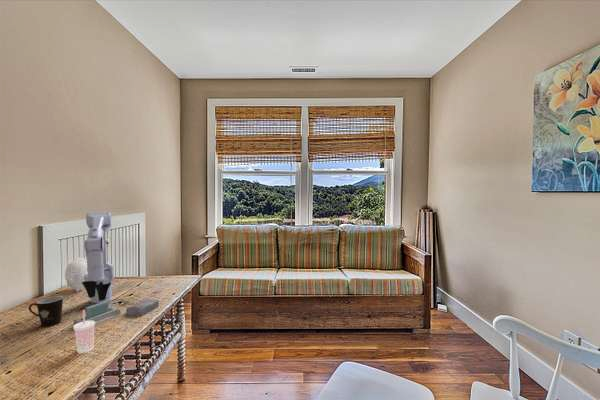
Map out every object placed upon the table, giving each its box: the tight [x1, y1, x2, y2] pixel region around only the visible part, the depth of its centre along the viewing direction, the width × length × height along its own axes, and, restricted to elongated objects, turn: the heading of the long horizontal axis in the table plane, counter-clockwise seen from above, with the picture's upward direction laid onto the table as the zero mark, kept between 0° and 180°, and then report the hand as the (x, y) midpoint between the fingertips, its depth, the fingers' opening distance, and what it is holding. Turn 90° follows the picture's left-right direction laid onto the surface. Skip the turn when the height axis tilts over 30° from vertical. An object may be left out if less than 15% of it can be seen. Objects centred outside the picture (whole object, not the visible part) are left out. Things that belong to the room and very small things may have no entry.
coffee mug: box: [28, 295, 64, 328], centre depth 129 cm, size 12×9×10 cm
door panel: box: [85, 301, 110, 320], centre depth 130 cm, size 2×8×6 cm, turn 152°
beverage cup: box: [73, 309, 96, 354], centre depth 107 cm, size 6×6×14 cm
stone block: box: [125, 298, 160, 317], centre depth 141 cm, size 12×5×10 cm
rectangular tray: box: [73, 305, 122, 326], centre depth 131 cm, size 7×15×3 cm, turn 152°
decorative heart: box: [64, 257, 88, 294], centre depth 169 cm, size 18×11×17 cm, turn 25°
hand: (97, 298), depth 130 cm, fingers open, 7 cm apart
